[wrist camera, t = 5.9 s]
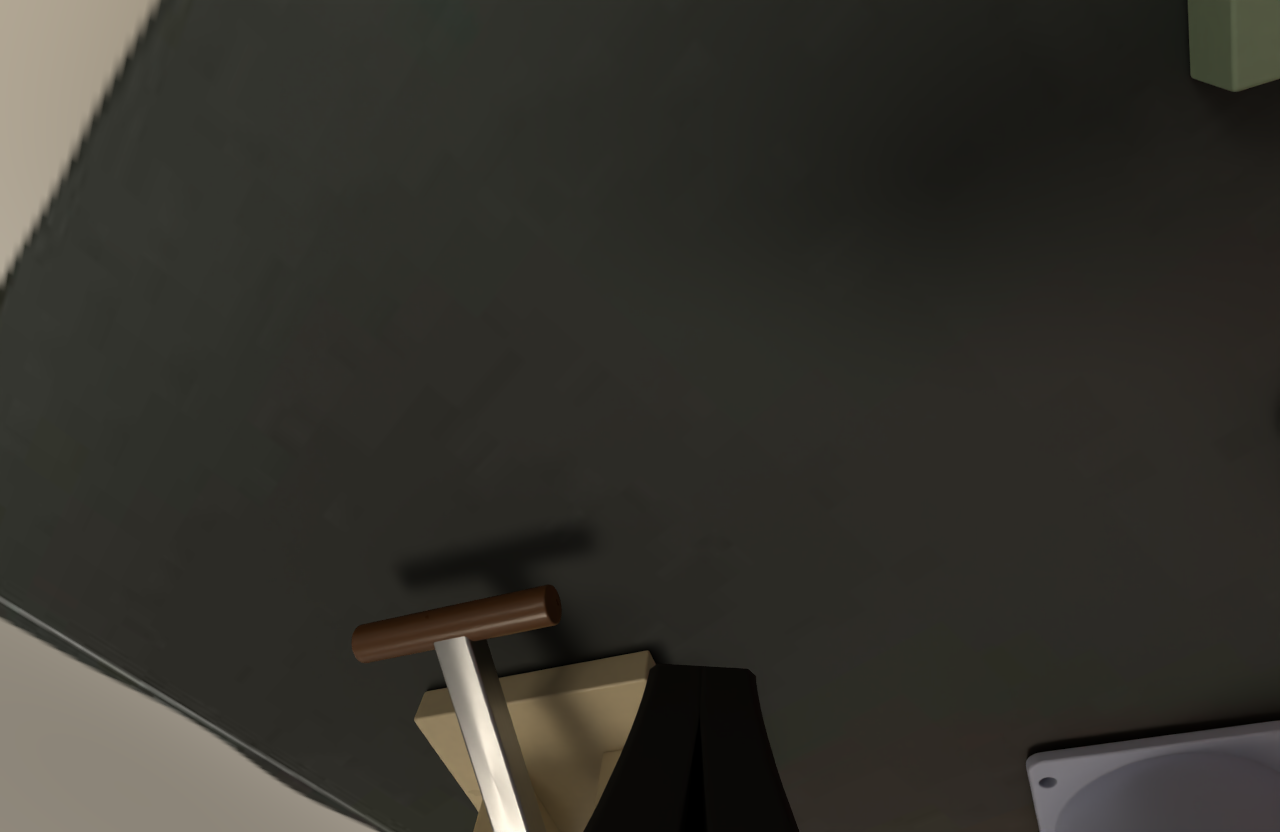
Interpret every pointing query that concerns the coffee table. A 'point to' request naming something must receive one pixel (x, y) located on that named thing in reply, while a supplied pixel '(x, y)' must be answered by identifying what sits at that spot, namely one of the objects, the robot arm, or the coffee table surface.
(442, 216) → the coffee table surface
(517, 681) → the bracket
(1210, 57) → the button box
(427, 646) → the lever
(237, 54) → the coffee table surface
